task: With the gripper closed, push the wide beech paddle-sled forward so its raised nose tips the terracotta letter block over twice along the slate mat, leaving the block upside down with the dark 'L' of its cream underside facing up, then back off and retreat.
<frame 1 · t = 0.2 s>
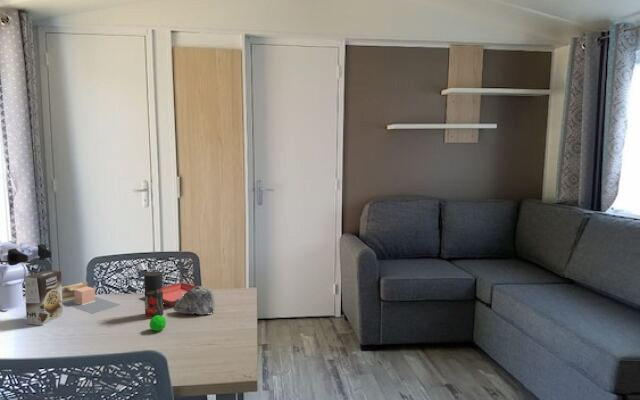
hand: (38, 256, 149), 21 cm above the table, tool horizontal, fingers open, 7 cm apart
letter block: (85, 301, 166), resting on slate mat
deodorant: (154, 315, 154), on the table
push sled: (74, 291, 169), point 3 cm above the table, slide at 0.0 cm
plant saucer: (177, 299, 173), on the table
polyhedron: (158, 330, 141), on the table
mineral rock: (195, 313, 158), on the table
slate mat: (87, 303, 165), on the table
coffee box: (45, 320, 148), on the table
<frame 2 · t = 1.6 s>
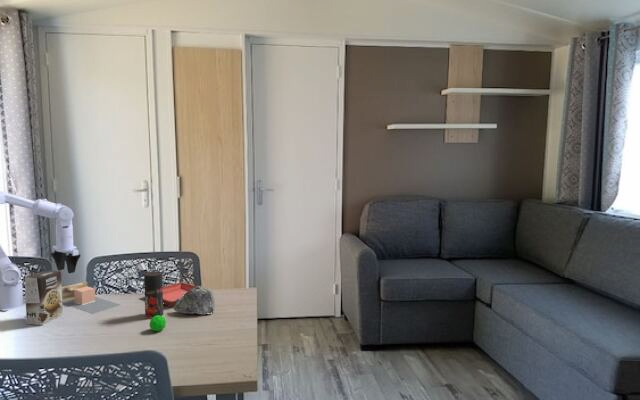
hand: (66, 271, 171), 10 cm above the table, tool pointing down, fingers open, 7 cm apart
nothing on the table moved.
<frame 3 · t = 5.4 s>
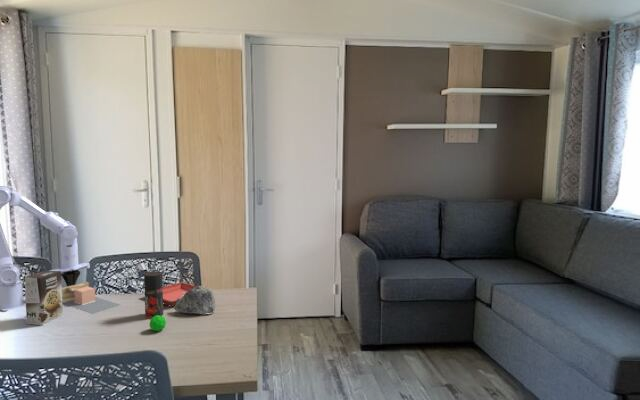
hand: (71, 289, 170), 3 cm above the table, tool pointing down, fingers closed, pressing on push sled
push sled: (75, 292, 168), point 3 cm above the table, slide at 1.0 cm, touching gripper
everything else where it was.
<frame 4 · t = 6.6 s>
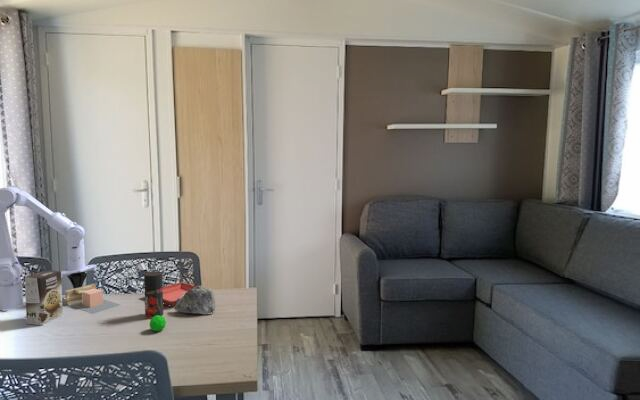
hand: (77, 292, 168), 3 cm above the table, tool pointing down, fingers closed, pressing on push sled
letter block: (88, 296, 164), point 3 cm above the table, tilted 90°, touching slate mat
push sled: (82, 294, 166), point 3 cm above the table, slide at 5.6 cm, touching gripper
everything else where it was.
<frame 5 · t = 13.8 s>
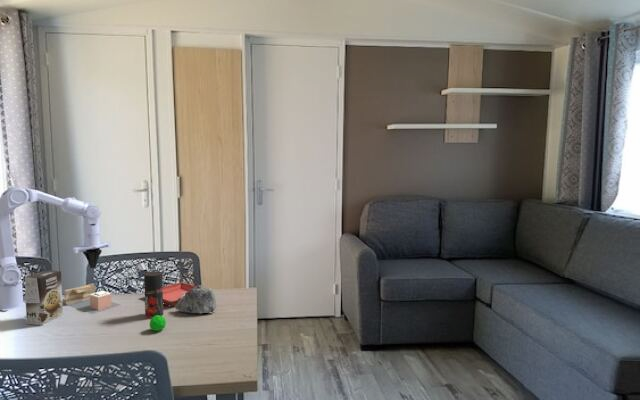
hand: (92, 267, 177), 10 cm above the table, tool pointing down, fingers closed
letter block: (100, 293, 160), point 5 cm above the table, tilted 180°, touching slate mat
push sled: (81, 294, 166), point 3 cm above the table, slide at 4.8 cm
everything else where it was.
at the end: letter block tilted 180°; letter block inside the target area (0.5 cm from its centre), point 5.4 cm above the table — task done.
